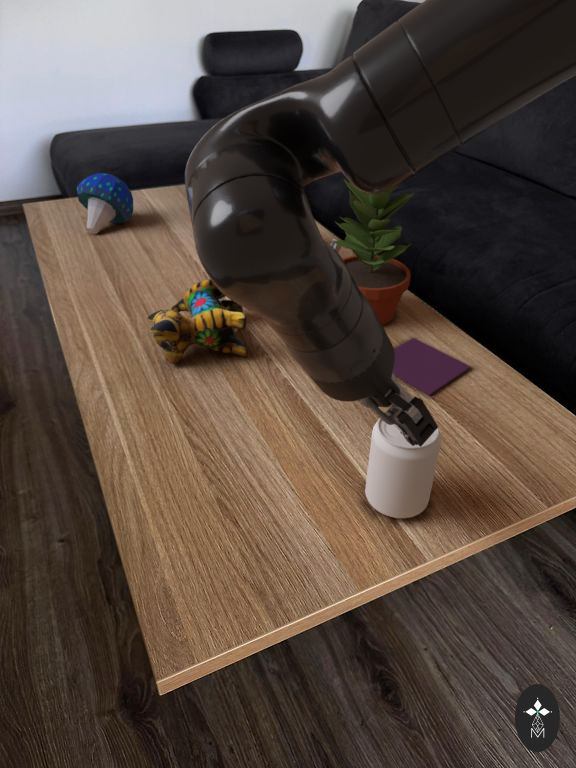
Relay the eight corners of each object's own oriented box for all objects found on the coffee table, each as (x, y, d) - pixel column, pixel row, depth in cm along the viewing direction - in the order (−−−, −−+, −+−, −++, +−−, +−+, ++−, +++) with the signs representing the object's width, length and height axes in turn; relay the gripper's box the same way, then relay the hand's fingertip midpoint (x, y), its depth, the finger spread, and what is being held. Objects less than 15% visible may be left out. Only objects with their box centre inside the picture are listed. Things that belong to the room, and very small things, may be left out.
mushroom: (53, 207, 136) (80, 153, 140) (74, 236, 150) (98, 187, 153) (110, 225, 135) (135, 170, 139) (126, 253, 149) (148, 203, 152)
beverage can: (365, 471, 80) (373, 402, 73) (426, 477, 79) (440, 408, 72) (363, 518, 73) (372, 447, 66) (429, 525, 73) (445, 454, 65)
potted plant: (320, 296, 119) (327, 140, 101) (394, 293, 120) (414, 139, 102) (331, 336, 107) (341, 167, 89) (413, 332, 108) (439, 165, 90)
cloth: (470, 369, 99) (470, 366, 99) (430, 396, 93) (430, 393, 93) (413, 340, 106) (413, 337, 106) (372, 363, 100) (372, 361, 100)
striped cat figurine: (239, 330, 116) (146, 336, 112) (239, 268, 111) (142, 271, 106) (262, 369, 99) (153, 378, 94) (263, 298, 93) (148, 303, 89)
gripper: (433, 350, 45) (464, 425, 58) (312, 270, 53) (364, 352, 66) (367, 422, 45) (414, 482, 58) (256, 331, 53) (319, 402, 66)
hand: (387, 413), depth 62 cm, fingers open, 8 cm apart
